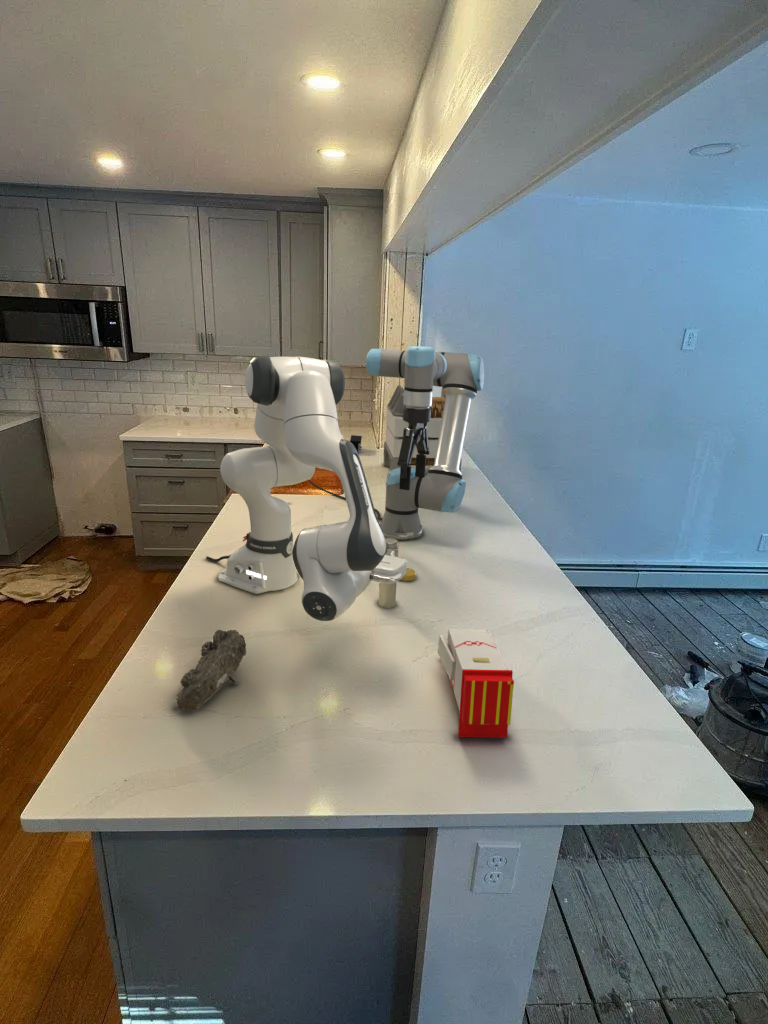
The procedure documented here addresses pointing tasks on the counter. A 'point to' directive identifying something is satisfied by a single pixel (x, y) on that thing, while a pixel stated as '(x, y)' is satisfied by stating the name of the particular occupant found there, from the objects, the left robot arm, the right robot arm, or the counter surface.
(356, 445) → the figurine character
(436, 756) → the counter surface
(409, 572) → the lid
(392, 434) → the grey slatted box
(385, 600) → the beige cylinder
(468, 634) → the toy
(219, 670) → the fossil
